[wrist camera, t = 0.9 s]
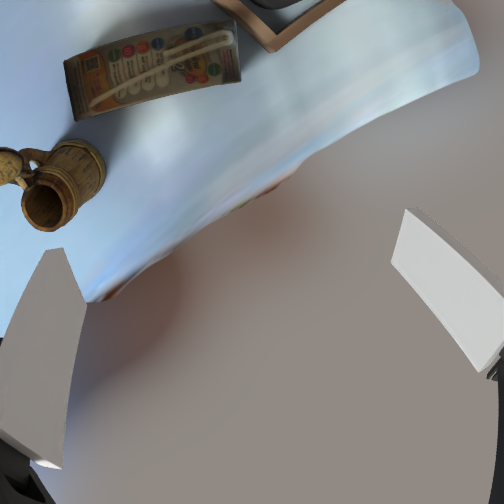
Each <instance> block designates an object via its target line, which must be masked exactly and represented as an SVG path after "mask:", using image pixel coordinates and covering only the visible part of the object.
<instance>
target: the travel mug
mask: <svg viewBox="0 0 504 504" xmlns="http://www.w3.org/2000/svg"><path fill="white" fill-rule="evenodd" d="M251 1H252V2H253V3H254V4H256V5H258V6H260V7H262V8H266V9H282V8H285V7H287V6H290V5H292V4H294V3H297V2H299V1H301V0H251Z"/></svg>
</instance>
